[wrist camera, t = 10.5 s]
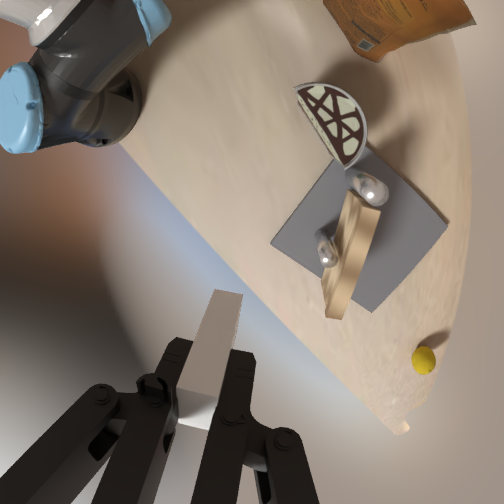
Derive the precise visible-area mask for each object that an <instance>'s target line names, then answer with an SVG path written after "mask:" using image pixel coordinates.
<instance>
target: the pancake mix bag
mask: <svg viewBox="0 0 504 504" xmlns="http://www.w3.org/2000/svg"><path fill="white" fill-rule="evenodd" d="M323 4H324V5H325V6H326V8H327V9H328V11H329V12H330V14H331V15H332V16H333V18H334V19H335V21H336V22H337V24H338V25H339V27H340V28H341V30H342V31H343V33H344V34H345V36H346V37H347V39H348V41H349V43H350V45H351V46H352V48H353V50H354V51H355V52H356V53H357V54H359V55H360V56H362V57H364V58H366V59H369V60H371V61H374V62H377V63H379V62H380V60H381V58H382V57H383V56H384V55H385V54H386V53H387V52H389V51H393V50H396V49H398V48H400V47H402V46H404V45H406V44H409V43H415V42H419V41H423V40H426V39H429V38H431V37H433V36H436V35H438V34H447V33H449V32H452V31H455V30H458V29H461V28H463V27H467V26H471V25H476V22H475V20H474V18H473V16H472V14H471V12H470V11H469V9H468V7H467V5H466V4H465V2H464V1H463V0H323Z"/></svg>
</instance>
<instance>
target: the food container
mask: <svg viewBox="0 0 504 504" xmlns="http://www.w3.org/2000/svg"><path fill="white" fill-rule="evenodd" d="M293 89H295V90H296V100H297V104H298V106H299V107H300V109H301V110H302V112H303V113H304V115H305V116H306V118H307V119H308V121H309V122H310V124H311V126H312V127H313V129H314V130H315V132H316V133H317V135H318V137H319V138H320V140H321V142H322V143H323V145H324V146H325V148H326V150H327V151H328V153H329V155H331V156H332V157H333V158H334V159H335V160H336V161H337V162H339V163H340V164H341V165H342V166H343V167H344V170H346V169H347V168H349V167H350V166H351V165H353V164H354V163H355V162H356V161H357V159H358V158H359V157H360V156H361V154H362V152H363V150H364V148H365V145H366V141H367V134H368V128H367V121H366V118H365V115H364V112H363V110H362V108H361V107H360V105H359V104H358V102H357V101H356V100H355V99H354V98H353V97H352V96H351V95H350V94H349V93H347V92H346V91H345V90H343V89H341V88H339V87H337V86H334V85H332V84H328V83H323V82H310V83H304V84H301V85H298V86H296V87H294V88H293Z"/></svg>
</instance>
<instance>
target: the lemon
mask: <svg viewBox="0 0 504 504" xmlns="http://www.w3.org/2000/svg"><path fill="white" fill-rule="evenodd" d="M435 364H436V359H435V355H434V353H433V351H432V350H431V349H430V348H429V347H426V346H422V347H419V348H417V349H416V350H415V351H414V353H413V355H412V365H413V367H414V369H415V370H416V371H417V372H418V373H419V374H423V375H425V374H428V373H430V372H431V371H432V370H433V369H434V367H435Z"/></svg>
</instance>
